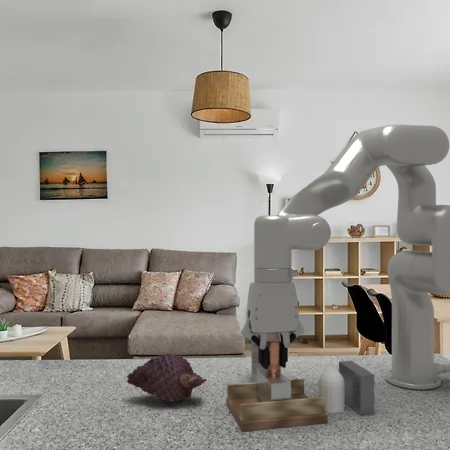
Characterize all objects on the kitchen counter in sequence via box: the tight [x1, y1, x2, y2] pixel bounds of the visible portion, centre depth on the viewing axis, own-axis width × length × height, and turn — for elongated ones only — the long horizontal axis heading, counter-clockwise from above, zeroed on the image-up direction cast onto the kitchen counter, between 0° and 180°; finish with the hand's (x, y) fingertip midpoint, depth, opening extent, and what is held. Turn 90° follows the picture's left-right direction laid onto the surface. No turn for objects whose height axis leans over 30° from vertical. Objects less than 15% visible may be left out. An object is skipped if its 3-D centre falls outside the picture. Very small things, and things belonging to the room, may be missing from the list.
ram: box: [257, 339, 291, 402], centre depth 101 cm, size 4×10×13 cm, turn 12°
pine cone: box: [126, 353, 208, 403], centre depth 108 cm, size 18×10×10 cm, turn 85°
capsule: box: [318, 368, 346, 414], centre depth 104 cm, size 5×5×8 cm
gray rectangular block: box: [338, 360, 375, 416], centre depth 105 cm, size 3×10×8 cm, turn 12°
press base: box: [225, 378, 329, 433], centre depth 101 cm, size 17×14×4 cm
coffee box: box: [250, 329, 280, 383], centre depth 121 cm, size 9×6×16 cm
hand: (273, 365), depth 101 cm, fingers closed on ram, 3 cm apart
